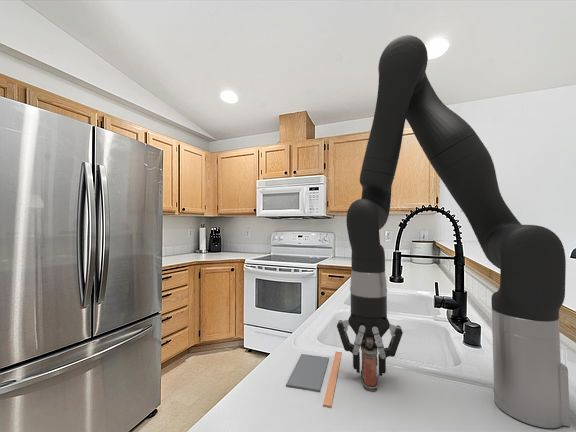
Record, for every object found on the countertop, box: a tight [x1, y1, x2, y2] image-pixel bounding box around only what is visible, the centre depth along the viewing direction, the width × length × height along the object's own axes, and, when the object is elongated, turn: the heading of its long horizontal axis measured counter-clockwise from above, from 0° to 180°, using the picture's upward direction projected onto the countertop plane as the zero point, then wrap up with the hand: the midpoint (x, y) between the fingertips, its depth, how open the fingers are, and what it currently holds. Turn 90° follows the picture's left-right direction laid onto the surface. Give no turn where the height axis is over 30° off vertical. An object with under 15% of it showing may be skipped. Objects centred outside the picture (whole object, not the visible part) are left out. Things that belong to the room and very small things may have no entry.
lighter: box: [360, 337, 379, 393], centre depth 58 cm, size 8×3×10 cm, turn 168°
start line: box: [322, 351, 342, 408], centre depth 60 cm, size 2×22×1 cm, turn 164°
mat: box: [285, 353, 330, 393], centre depth 61 cm, size 7×14×1 cm, turn 164°
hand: (369, 372), depth 58 cm, fingers open, 4 cm apart
